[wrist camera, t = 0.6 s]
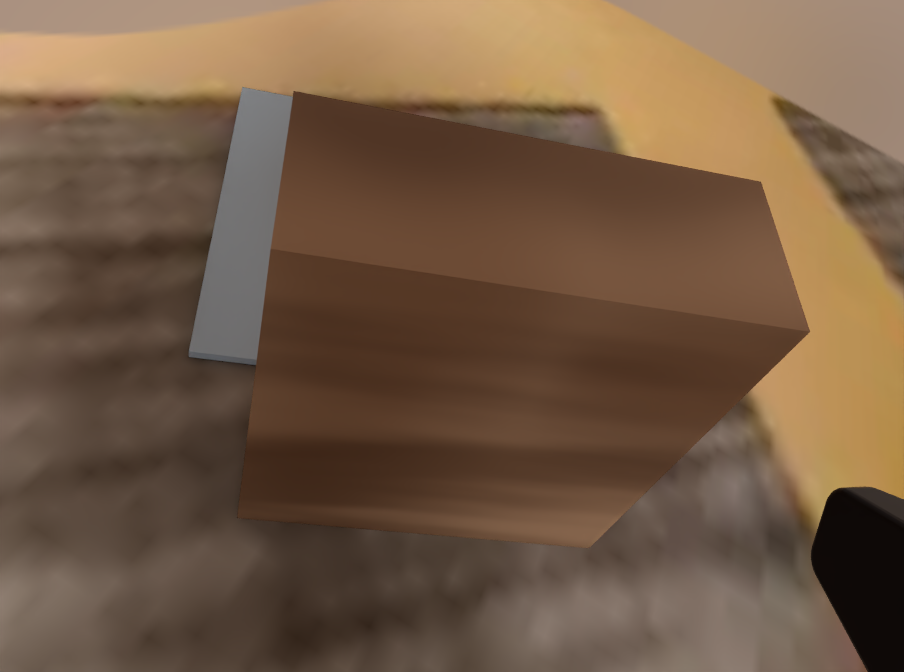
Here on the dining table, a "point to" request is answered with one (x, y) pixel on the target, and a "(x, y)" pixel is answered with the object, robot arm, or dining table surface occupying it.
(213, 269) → the mat
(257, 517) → the walnut block
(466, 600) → the dining table surface
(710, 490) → the dining table surface
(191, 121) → the dining table surface
